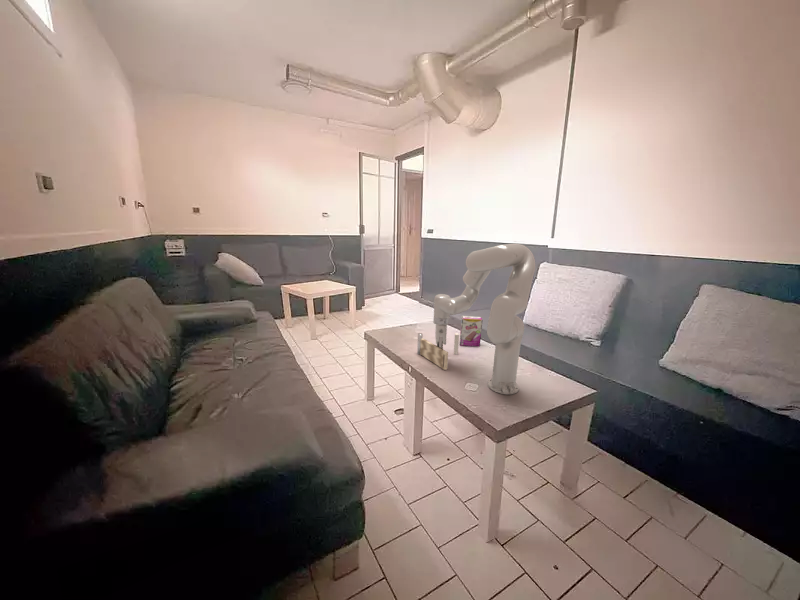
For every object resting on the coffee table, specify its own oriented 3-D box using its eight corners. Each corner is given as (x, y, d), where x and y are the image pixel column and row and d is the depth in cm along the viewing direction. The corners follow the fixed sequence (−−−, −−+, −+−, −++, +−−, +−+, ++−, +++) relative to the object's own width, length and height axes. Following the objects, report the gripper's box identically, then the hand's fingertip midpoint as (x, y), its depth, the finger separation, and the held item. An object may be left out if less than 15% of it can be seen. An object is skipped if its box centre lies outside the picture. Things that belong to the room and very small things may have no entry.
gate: (420, 354, 164) (420, 338, 161) (422, 353, 164) (423, 338, 162) (444, 369, 147) (445, 353, 145) (447, 369, 148) (448, 352, 146)
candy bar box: (460, 346, 176) (461, 318, 172) (459, 342, 181) (461, 315, 177) (480, 347, 175) (482, 319, 171) (479, 343, 180) (481, 316, 176)
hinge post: (421, 354, 164) (422, 334, 161) (417, 354, 164) (417, 334, 162) (421, 352, 167) (422, 333, 164) (417, 352, 167) (417, 333, 164)
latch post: (457, 354, 165) (459, 334, 162) (453, 354, 165) (455, 334, 163) (457, 352, 167) (458, 333, 164) (453, 352, 167) (454, 333, 164)
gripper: (450, 325, 144) (447, 362, 149) (448, 315, 158) (445, 349, 163) (433, 324, 145) (431, 361, 149) (433, 314, 159) (431, 348, 164)
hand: (439, 354), depth 156 cm, fingers closed
